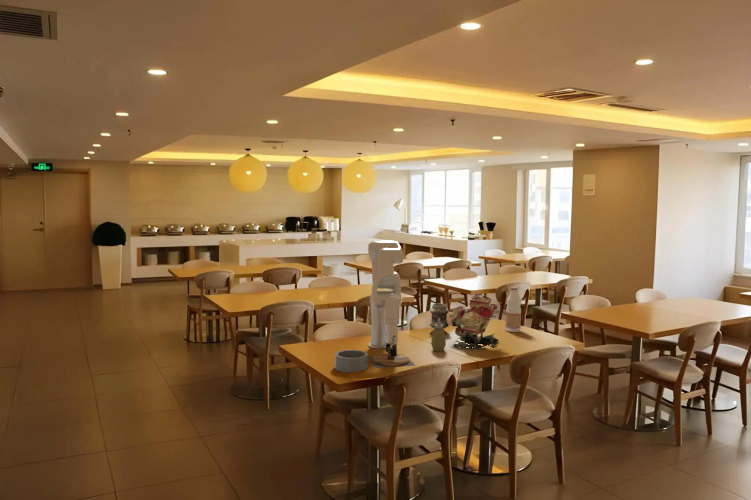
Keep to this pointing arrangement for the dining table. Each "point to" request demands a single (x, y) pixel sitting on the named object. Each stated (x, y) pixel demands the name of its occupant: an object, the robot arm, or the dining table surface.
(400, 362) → the walnut lid
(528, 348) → the dining table surface
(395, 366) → the gray square mat
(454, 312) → the rose bouquet
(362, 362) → the slate bowl
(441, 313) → the apothecary jar
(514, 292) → the fruit juice
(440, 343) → the squeeze bottle
